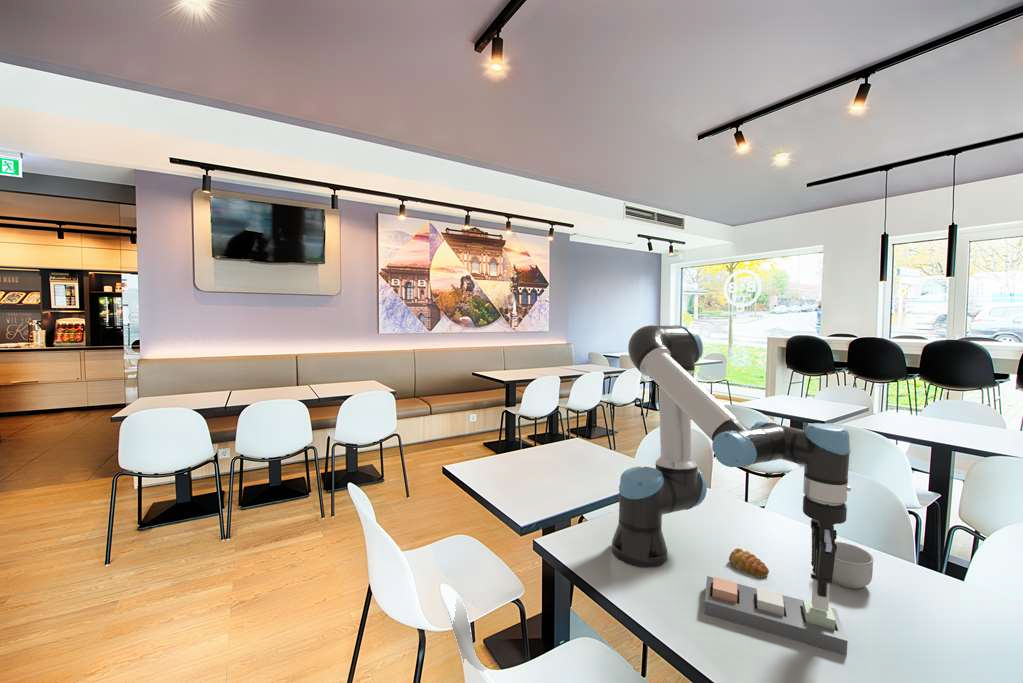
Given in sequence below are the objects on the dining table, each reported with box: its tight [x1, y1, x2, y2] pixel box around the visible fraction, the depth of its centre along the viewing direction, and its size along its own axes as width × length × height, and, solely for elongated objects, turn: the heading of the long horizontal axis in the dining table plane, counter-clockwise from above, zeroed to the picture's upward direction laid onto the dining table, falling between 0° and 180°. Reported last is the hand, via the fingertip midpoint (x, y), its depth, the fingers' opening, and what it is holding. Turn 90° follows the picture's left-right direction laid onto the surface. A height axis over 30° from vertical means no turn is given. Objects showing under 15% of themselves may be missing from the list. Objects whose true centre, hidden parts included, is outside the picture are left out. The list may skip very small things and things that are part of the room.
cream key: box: [756, 587, 784, 616], centre depth 98 cm, size 5×5×2 cm
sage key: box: [803, 599, 836, 630], centre depth 93 cm, size 5×5×2 cm
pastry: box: [728, 548, 770, 578], centre depth 117 cm, size 9×7×4 cm
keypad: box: [703, 575, 848, 656], centre depth 98 cm, size 26×11×3 cm, turn 63°
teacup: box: [832, 541, 875, 590], centre depth 114 cm, size 14×11×8 cm
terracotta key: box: [713, 576, 738, 603], centre depth 102 cm, size 5×5×2 cm
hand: (819, 607), depth 93 cm, fingers closed
